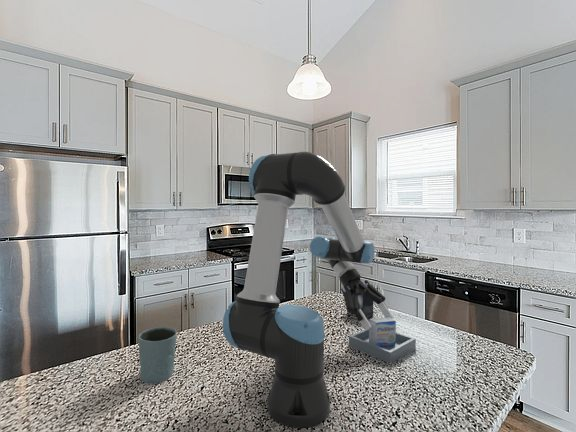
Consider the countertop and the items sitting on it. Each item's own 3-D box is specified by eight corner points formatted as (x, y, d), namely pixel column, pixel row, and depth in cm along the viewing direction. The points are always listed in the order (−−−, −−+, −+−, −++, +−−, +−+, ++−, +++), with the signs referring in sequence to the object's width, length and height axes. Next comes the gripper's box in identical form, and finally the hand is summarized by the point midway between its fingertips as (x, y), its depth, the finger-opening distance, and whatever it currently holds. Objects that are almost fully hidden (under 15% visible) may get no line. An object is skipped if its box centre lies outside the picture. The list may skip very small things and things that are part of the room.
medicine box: (375, 348, 106) (375, 322, 106) (368, 342, 111) (368, 318, 110) (395, 345, 108) (396, 320, 108) (388, 340, 113) (388, 316, 112)
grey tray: (390, 363, 98) (390, 352, 98) (348, 345, 110) (348, 336, 110) (415, 348, 109) (415, 338, 109) (375, 334, 121) (375, 324, 121)
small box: (347, 311, 146) (347, 289, 146) (358, 309, 149) (359, 287, 149) (361, 319, 137) (362, 295, 136) (373, 317, 139) (374, 293, 139)
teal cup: (140, 369, 93) (139, 329, 93) (176, 363, 97) (176, 324, 96) (136, 388, 84) (136, 343, 83) (177, 381, 87) (177, 338, 87)
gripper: (361, 274, 131) (392, 321, 121) (319, 283, 115) (351, 338, 104) (372, 264, 127) (406, 310, 116) (330, 271, 111) (365, 327, 100)
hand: (380, 324), depth 110 cm, fingers open, 13 cm apart
